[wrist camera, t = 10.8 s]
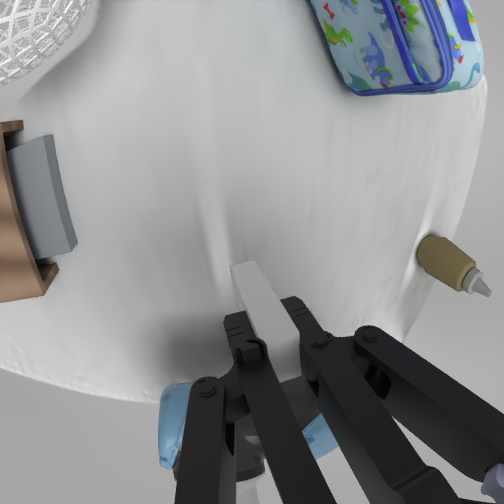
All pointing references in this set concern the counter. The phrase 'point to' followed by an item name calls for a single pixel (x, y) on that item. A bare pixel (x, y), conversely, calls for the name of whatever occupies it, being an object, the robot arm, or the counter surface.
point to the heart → (80, 3)
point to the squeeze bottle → (451, 265)
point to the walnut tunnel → (17, 239)
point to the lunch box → (402, 45)
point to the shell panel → (41, 197)
